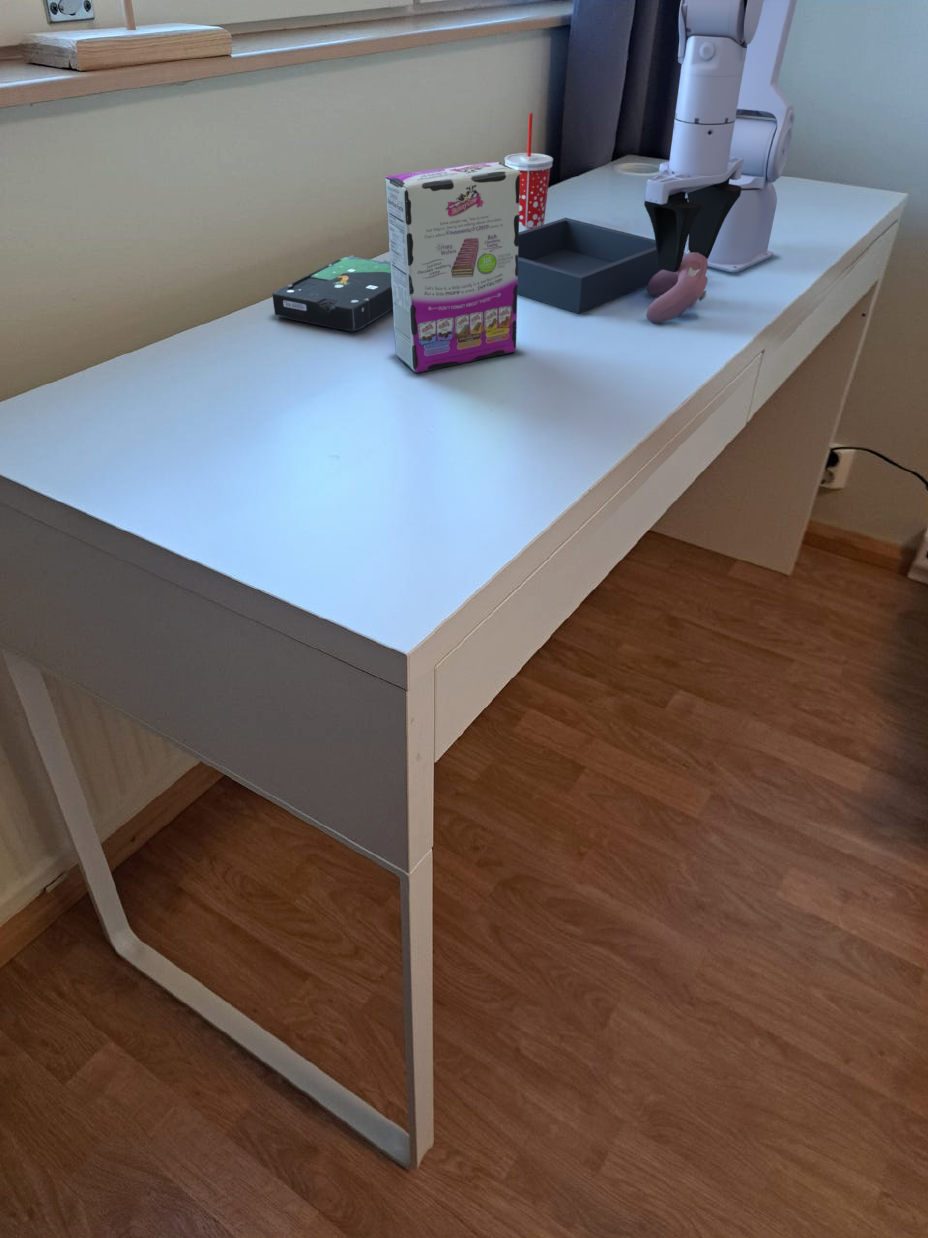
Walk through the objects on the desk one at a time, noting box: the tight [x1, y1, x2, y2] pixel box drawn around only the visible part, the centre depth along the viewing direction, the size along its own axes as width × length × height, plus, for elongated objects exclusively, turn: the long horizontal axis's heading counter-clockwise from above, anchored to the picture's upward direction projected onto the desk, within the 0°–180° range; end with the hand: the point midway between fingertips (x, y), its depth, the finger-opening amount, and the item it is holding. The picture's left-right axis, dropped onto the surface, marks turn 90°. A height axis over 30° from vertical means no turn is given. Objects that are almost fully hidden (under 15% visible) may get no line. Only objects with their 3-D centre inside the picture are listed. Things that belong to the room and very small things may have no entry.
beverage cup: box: [504, 112, 554, 232], centre depth 117 cm, size 6×6×14 cm
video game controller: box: [645, 249, 709, 324], centre depth 97 cm, size 10×5×7 cm, turn 170°
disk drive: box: [271, 255, 393, 332], centre depth 99 cm, size 10×3×15 cm
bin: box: [517, 217, 663, 315], centre depth 106 cm, size 17×16×4 cm
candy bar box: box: [384, 161, 520, 373], centre depth 84 cm, size 11×5×16 cm, turn 117°
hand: (683, 263), depth 97 cm, fingers closed on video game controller, 5 cm apart
